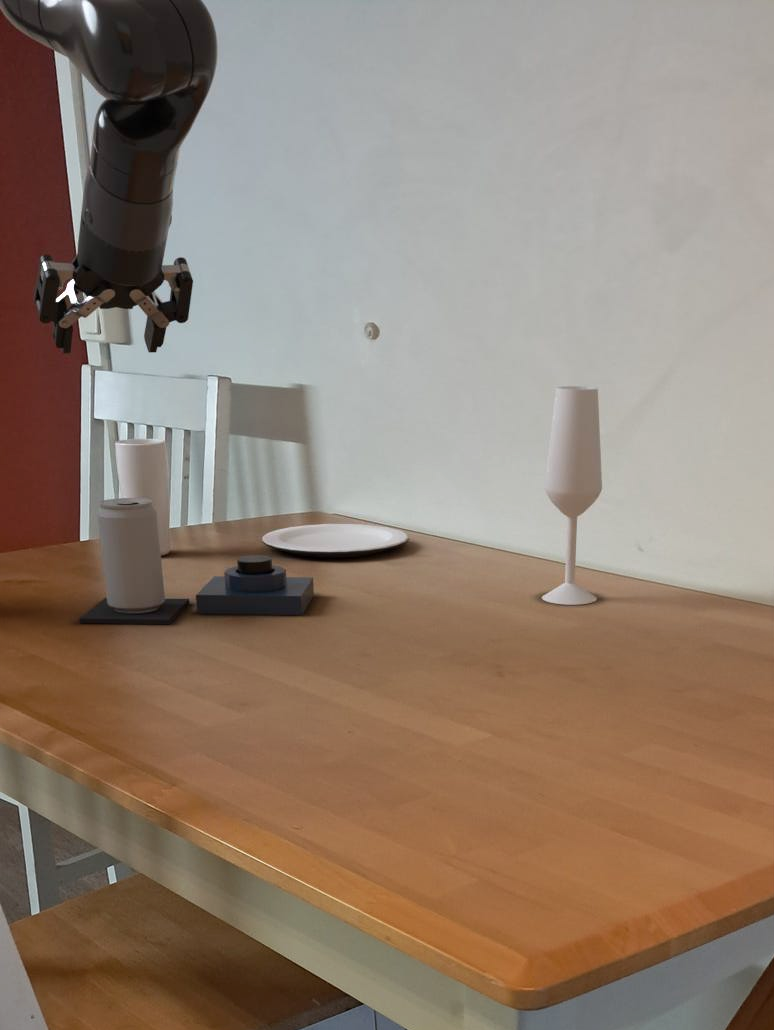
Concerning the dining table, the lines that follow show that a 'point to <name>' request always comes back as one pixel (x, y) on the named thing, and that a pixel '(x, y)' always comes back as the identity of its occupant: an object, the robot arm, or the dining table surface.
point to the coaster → (135, 614)
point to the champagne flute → (573, 474)
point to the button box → (255, 594)
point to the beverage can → (131, 555)
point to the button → (254, 565)
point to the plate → (335, 540)
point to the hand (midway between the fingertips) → (107, 346)
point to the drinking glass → (146, 478)
